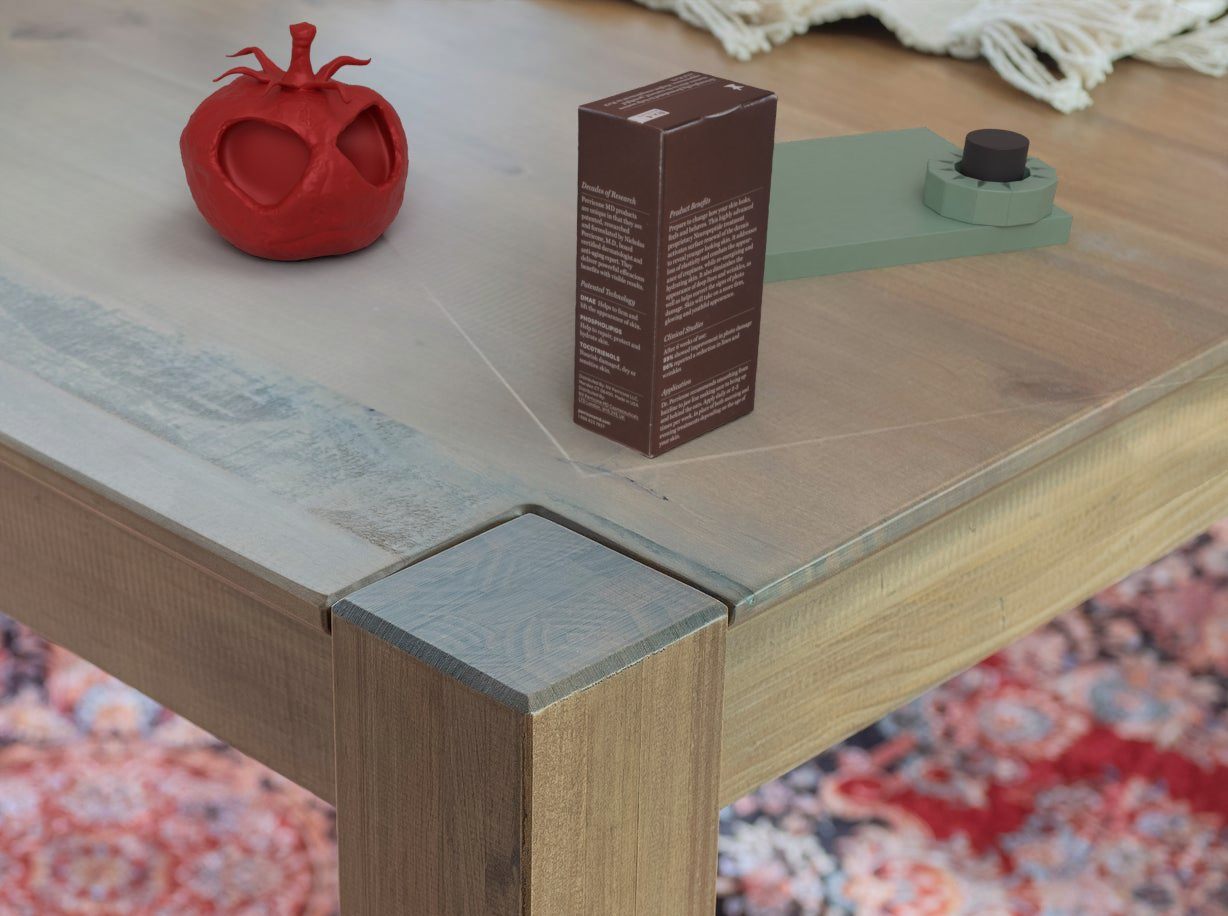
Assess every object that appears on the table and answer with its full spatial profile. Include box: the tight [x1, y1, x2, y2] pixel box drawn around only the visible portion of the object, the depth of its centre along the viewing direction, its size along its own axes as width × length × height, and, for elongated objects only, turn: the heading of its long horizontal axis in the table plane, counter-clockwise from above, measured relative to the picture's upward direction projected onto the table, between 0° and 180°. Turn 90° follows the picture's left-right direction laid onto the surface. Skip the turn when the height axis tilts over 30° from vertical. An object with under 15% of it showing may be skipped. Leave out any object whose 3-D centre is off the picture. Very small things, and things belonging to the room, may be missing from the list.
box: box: [573, 70, 779, 459], centre depth 68 cm, size 6×4×12 cm
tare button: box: [960, 128, 1030, 183], centre depth 86 cm, size 3×3×2 cm
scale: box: [763, 126, 1074, 285], centre depth 88 cm, size 16×13×3 cm
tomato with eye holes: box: [178, 21, 410, 261], centre depth 83 cm, size 10×10×9 cm
